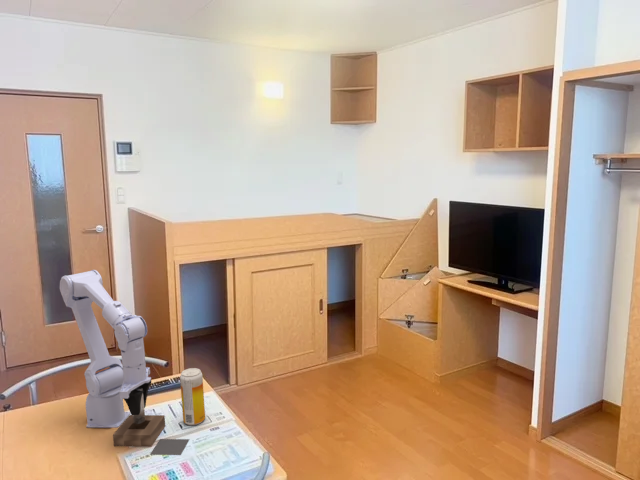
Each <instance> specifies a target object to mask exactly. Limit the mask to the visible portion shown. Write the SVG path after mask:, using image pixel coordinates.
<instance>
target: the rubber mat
mask: <svg viewBox="0 0 640 480" xmlns="http://www.w3.org/2000/svg"><path fill="white" fill-rule="evenodd" d="M189 441H190V438H187V439H186V438H160V439H159V440H158V441H157V444H156V445H155V446H154V448H153V449H152V450H151V452H150V453H149V456H150V455H151V456H161V455H162V456H182V454H183V452H184V450H185V449H186V447H187V444H188V443H189Z"/></svg>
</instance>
